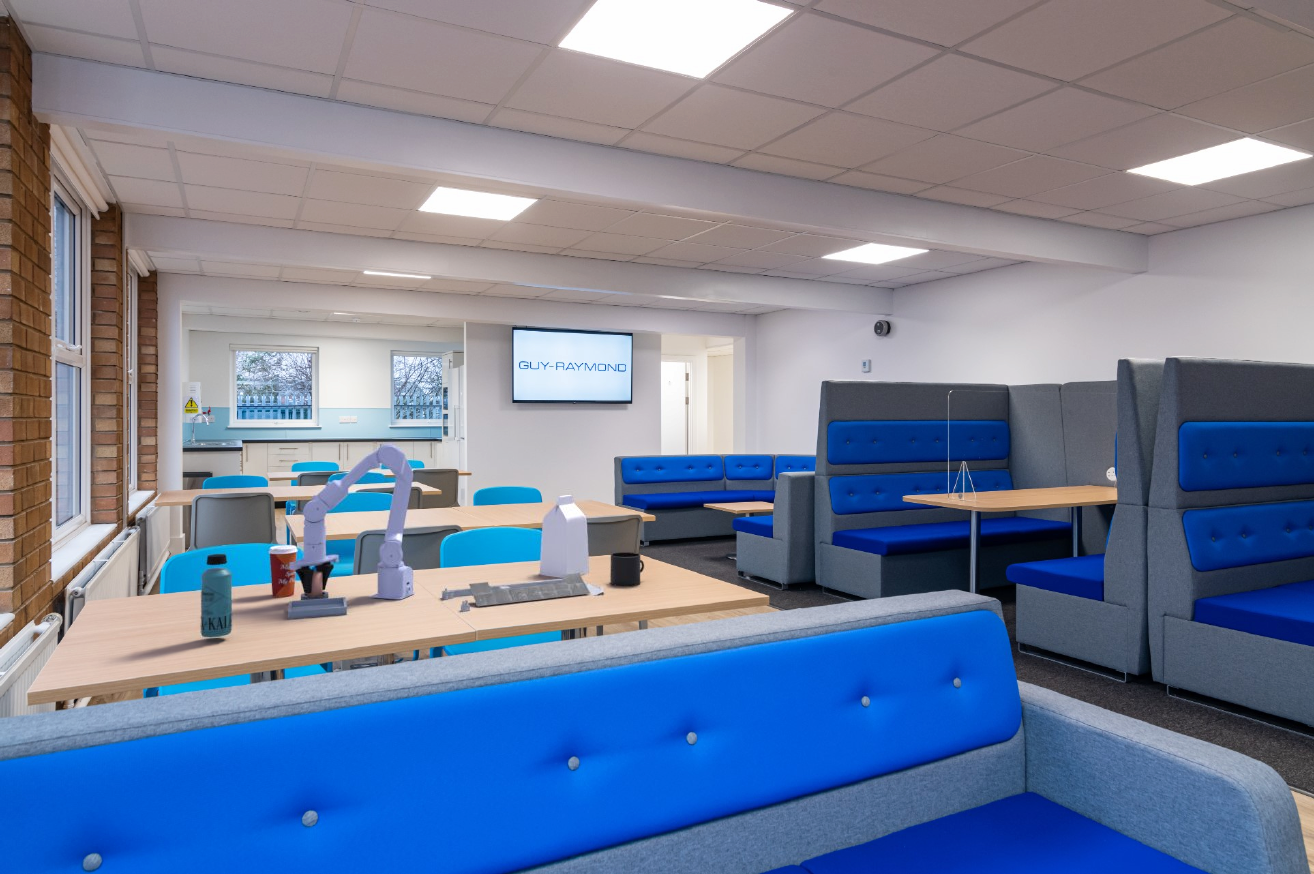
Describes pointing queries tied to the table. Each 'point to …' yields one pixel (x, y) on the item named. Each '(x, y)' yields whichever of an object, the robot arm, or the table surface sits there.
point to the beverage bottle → (216, 599)
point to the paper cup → (282, 570)
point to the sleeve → (323, 596)
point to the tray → (317, 608)
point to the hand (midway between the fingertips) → (314, 591)
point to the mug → (625, 568)
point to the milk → (564, 540)
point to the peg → (316, 584)
